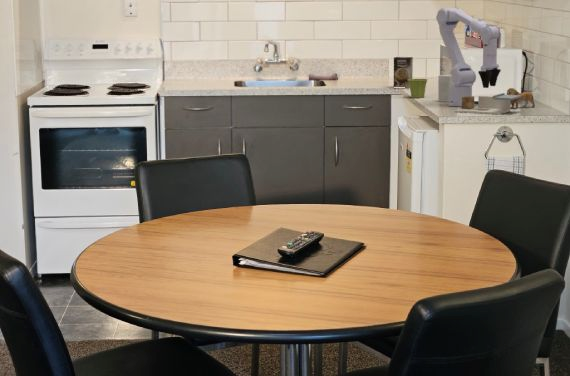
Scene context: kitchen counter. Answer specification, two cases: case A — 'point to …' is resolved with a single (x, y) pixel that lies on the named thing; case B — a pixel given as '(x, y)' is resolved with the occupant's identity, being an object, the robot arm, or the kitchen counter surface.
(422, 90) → the plant pot
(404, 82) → the coffee box
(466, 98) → the block
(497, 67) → the robot arm
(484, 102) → the puzzle board
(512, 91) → the lion figurine
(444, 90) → the skincare box
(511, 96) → the cover
